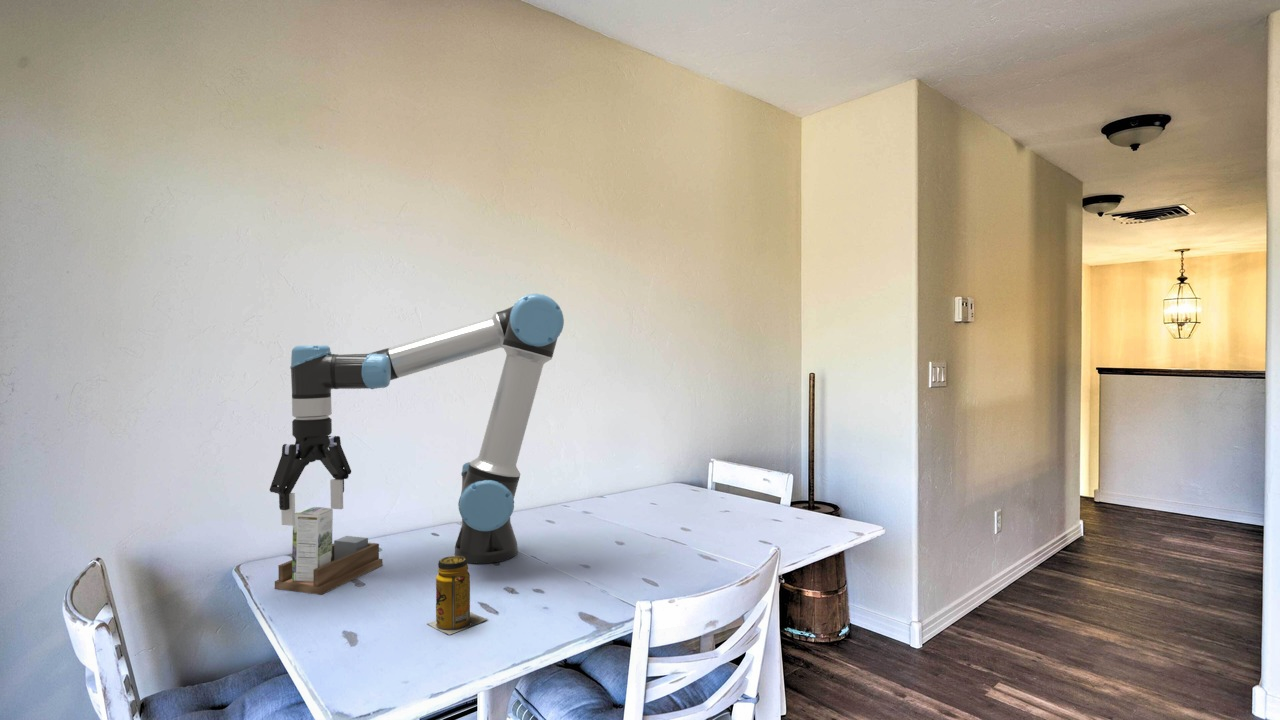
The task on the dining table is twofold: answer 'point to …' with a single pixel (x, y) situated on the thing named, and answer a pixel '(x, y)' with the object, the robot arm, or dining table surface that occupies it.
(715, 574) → the dining table surface
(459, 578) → the condiment
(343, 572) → the walnut tray
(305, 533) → the syrup box
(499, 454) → the robot arm
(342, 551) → the slate block
